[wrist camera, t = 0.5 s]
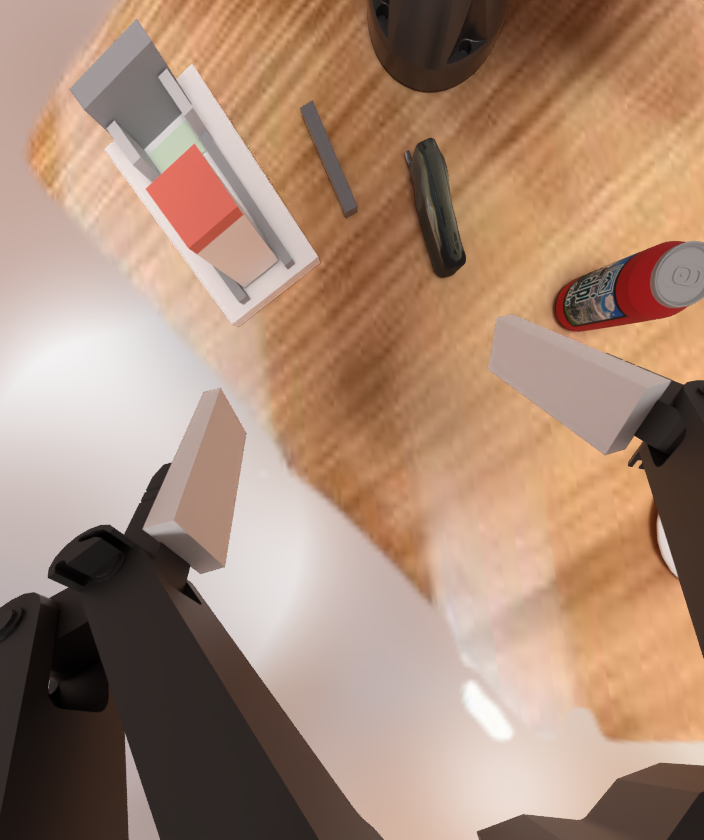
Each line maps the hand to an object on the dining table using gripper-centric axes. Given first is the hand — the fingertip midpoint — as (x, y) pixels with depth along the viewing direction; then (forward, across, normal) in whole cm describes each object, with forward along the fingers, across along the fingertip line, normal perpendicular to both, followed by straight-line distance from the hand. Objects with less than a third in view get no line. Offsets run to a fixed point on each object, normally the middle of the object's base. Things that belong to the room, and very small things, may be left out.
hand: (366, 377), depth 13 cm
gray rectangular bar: (+34, +6, +10) cm, 36 cm away
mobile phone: (+29, +16, +3) cm, 33 cm away
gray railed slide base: (+35, -9, +8) cm, 37 cm away
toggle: (+29, -7, +4) cm, 30 cm away
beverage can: (+19, +33, -9) cm, 39 cm away
